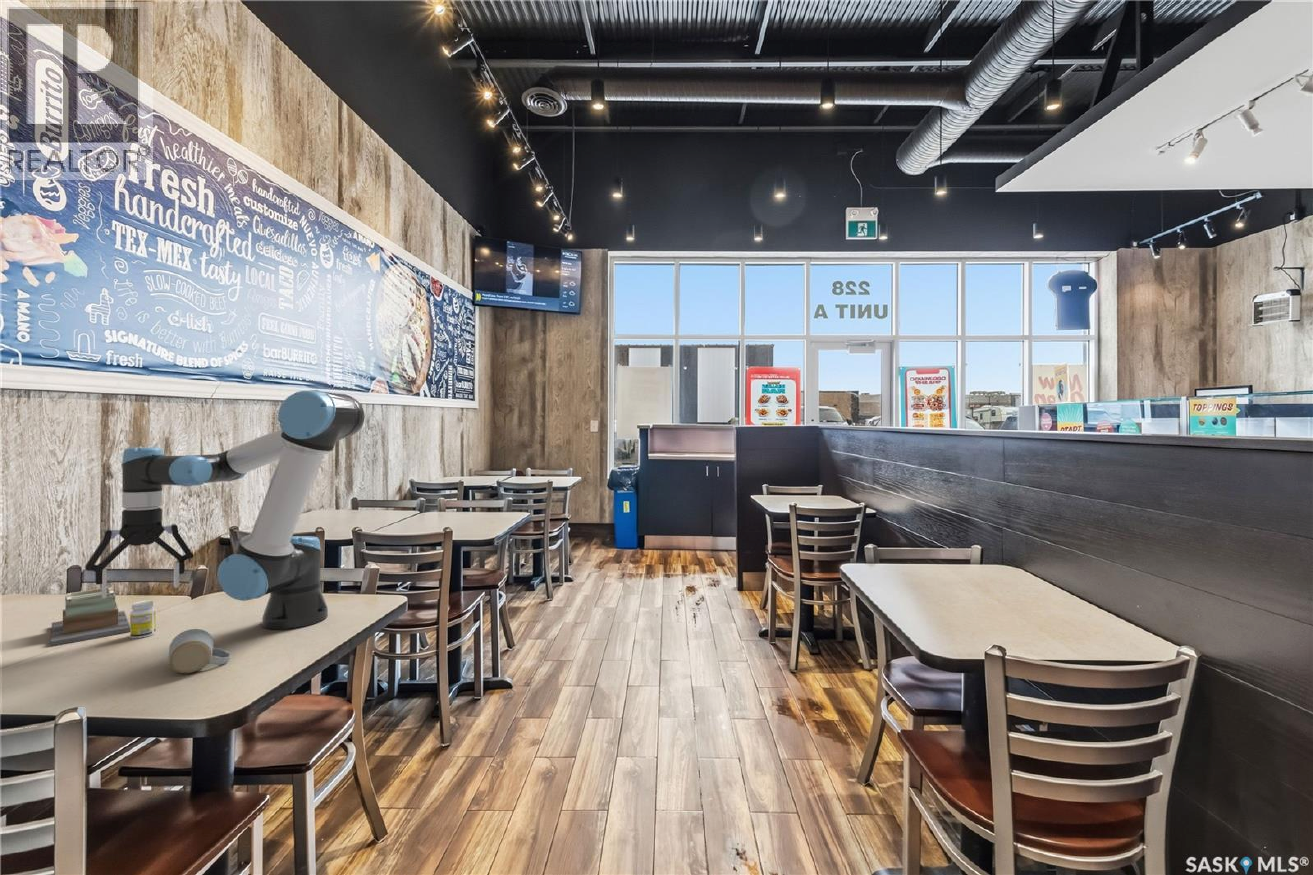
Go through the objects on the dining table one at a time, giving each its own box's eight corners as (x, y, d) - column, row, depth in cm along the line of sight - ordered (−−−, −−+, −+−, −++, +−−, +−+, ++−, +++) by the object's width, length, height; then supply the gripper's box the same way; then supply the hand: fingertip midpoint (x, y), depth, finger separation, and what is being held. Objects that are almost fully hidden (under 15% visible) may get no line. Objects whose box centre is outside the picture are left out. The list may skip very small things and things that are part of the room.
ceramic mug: (167, 679, 118) (168, 642, 118) (168, 667, 124) (169, 632, 125) (231, 667, 125) (232, 632, 125) (229, 656, 131) (230, 622, 131)
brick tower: (130, 631, 147) (130, 595, 147) (51, 646, 137) (50, 607, 137) (124, 615, 161) (123, 581, 161) (51, 627, 151) (51, 591, 150)
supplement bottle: (140, 632, 146) (140, 599, 146) (160, 632, 147) (160, 599, 147) (125, 639, 142) (124, 605, 142) (145, 638, 142) (145, 605, 142)
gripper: (202, 502, 156) (201, 580, 156) (71, 510, 138) (70, 598, 138) (207, 505, 151) (206, 585, 151) (72, 514, 132) (71, 605, 133)
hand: (141, 591), depth 144 cm, fingers open, 13 cm apart
